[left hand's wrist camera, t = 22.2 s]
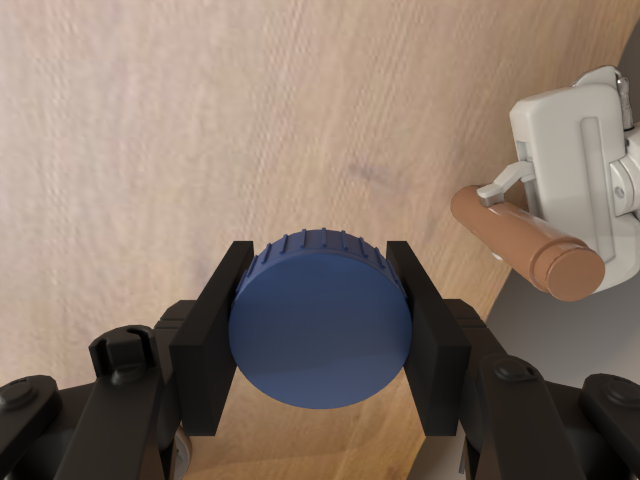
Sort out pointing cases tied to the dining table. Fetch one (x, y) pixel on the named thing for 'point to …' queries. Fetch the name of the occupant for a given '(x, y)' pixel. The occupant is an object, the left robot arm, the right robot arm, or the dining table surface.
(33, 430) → the left robot arm
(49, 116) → the dining table surface
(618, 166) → the right robot arm
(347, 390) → the lid
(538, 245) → the bottle
